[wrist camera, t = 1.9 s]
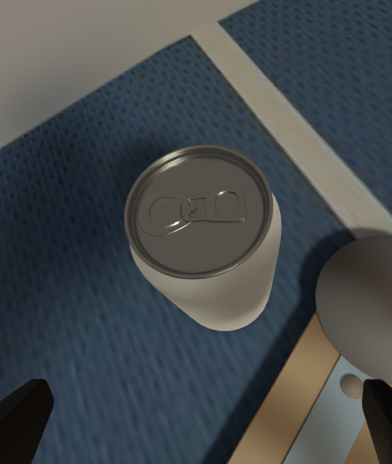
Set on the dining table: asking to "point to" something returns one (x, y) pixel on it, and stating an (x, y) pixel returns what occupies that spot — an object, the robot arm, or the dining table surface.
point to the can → (206, 233)
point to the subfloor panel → (330, 367)
